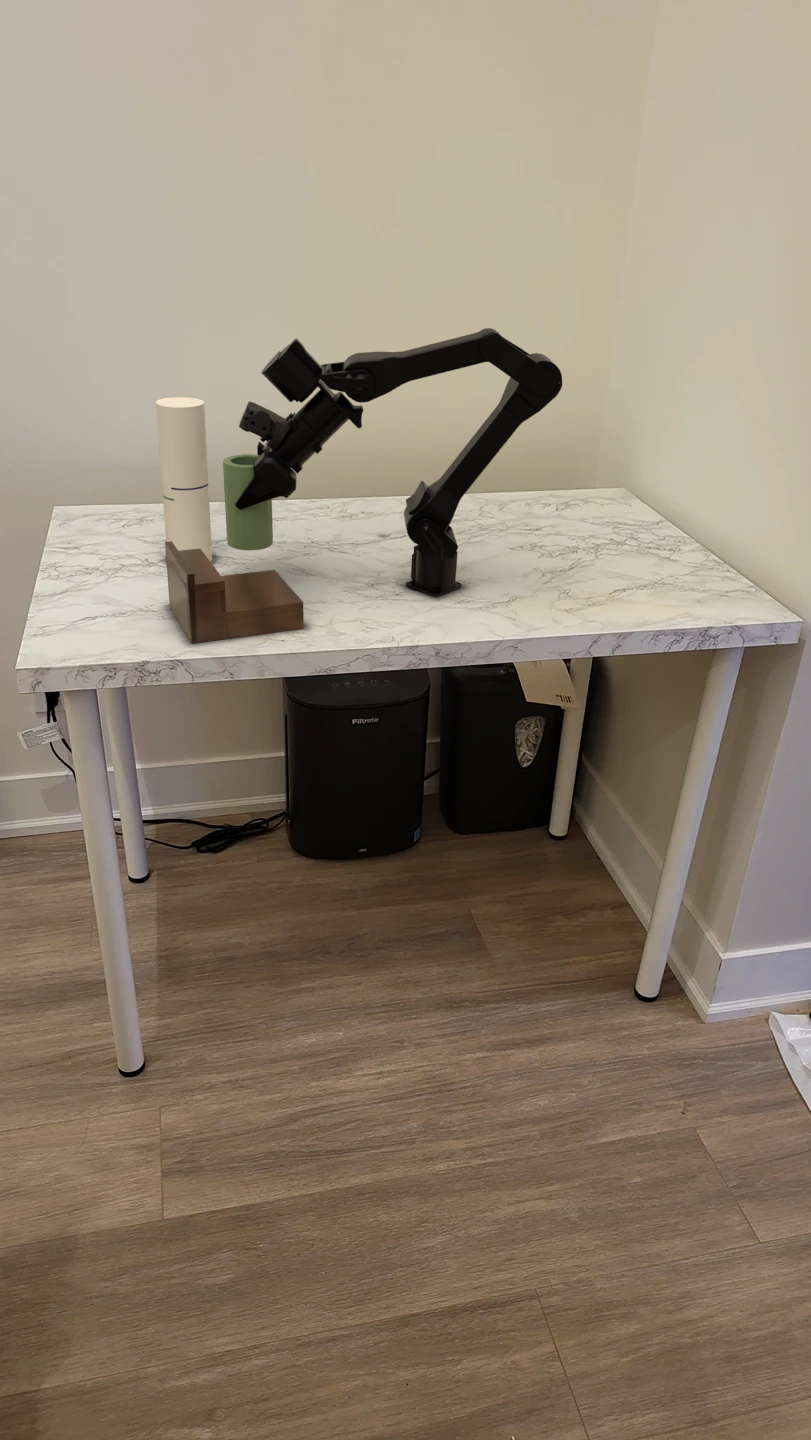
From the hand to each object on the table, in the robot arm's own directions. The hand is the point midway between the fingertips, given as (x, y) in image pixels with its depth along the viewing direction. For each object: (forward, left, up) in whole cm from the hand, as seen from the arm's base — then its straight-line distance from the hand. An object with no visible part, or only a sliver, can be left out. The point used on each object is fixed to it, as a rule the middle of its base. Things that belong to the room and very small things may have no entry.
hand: (239, 499), depth 153 cm
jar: (-1, -1, -7) cm, 7 cm away
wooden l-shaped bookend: (-9, +9, -13) cm, 18 cm away
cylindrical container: (+14, -1, -14) cm, 20 cm away
